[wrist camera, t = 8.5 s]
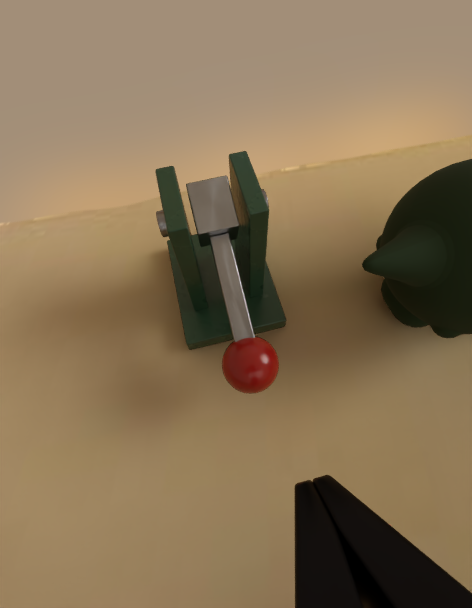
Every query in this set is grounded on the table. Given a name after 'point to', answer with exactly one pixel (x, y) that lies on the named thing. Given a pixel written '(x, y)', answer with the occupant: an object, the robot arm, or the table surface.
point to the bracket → (201, 267)
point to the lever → (231, 286)
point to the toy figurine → (430, 253)
